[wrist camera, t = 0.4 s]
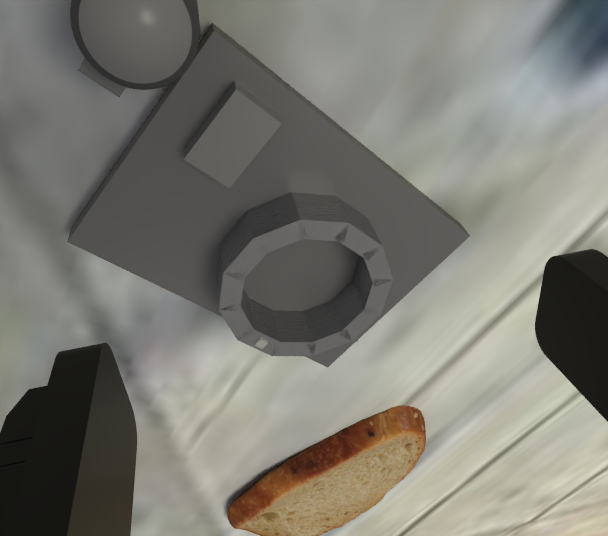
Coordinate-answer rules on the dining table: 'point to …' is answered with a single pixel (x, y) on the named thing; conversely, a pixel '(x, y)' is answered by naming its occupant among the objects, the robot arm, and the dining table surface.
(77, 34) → the domed grey cylinder
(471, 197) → the dining table surface
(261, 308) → the grey thick ring
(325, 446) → the slice of bread
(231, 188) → the camera plate
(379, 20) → the dining table surface
